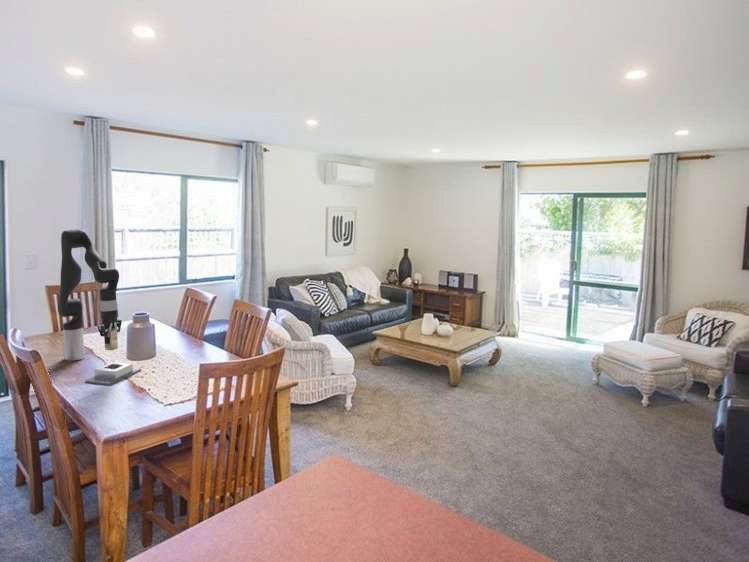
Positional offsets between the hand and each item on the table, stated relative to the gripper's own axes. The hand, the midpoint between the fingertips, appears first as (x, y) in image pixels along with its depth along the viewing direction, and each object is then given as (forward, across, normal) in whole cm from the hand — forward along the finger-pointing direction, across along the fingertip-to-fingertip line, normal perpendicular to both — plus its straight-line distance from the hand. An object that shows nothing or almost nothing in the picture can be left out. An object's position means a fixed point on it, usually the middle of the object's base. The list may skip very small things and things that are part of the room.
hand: (111, 342), depth 245 cm
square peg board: (+17, 0, 0) cm, 17 cm away
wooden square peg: (+3, 0, 0) cm, 3 cm away
